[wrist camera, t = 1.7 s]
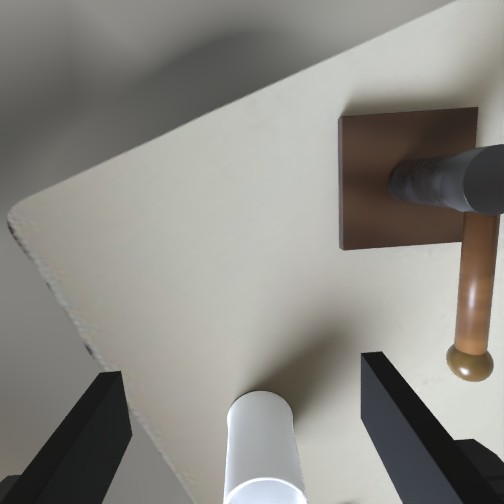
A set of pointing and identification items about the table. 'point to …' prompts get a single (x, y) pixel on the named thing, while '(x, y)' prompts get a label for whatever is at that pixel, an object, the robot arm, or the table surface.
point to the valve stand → (400, 177)
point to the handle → (475, 254)
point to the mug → (262, 452)
